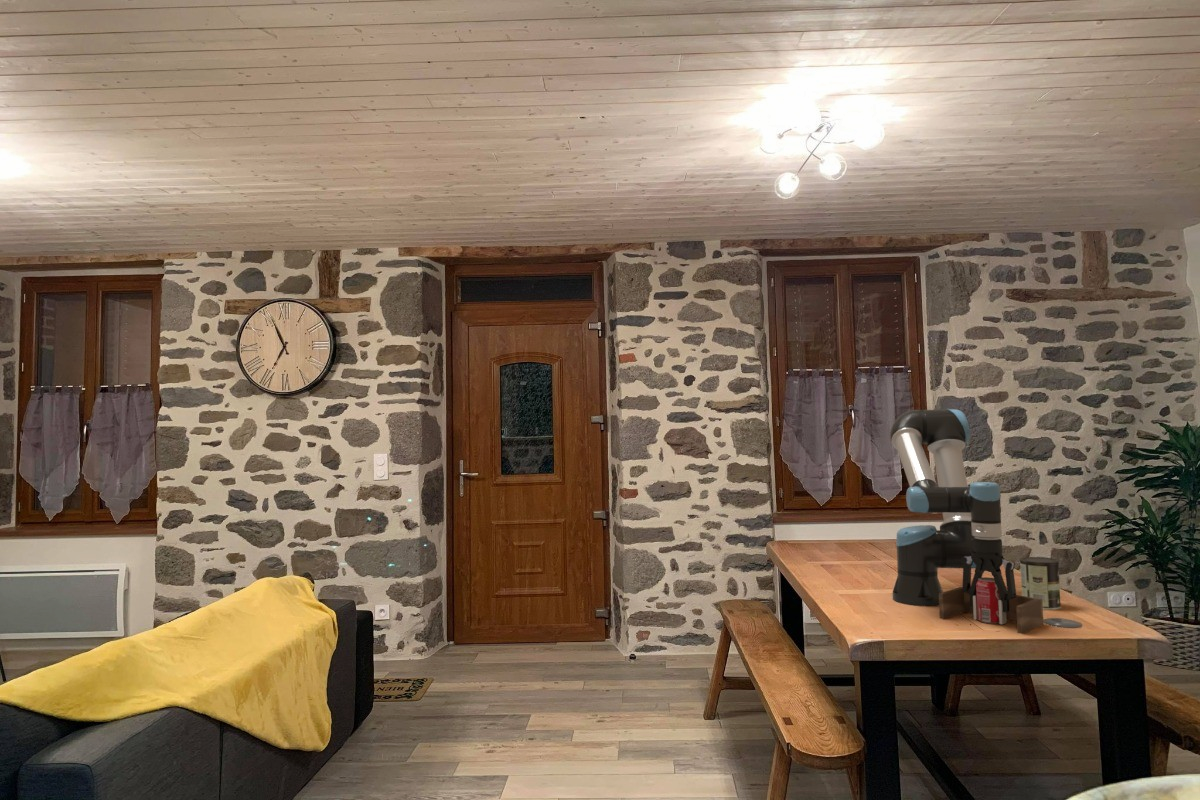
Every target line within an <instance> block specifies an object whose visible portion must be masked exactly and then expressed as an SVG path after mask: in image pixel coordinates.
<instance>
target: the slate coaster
mask: <svg viewBox="0 0 1200 800" xmlns="http://www.w3.org/2000/svg"><path fill="white" fill-rule="evenodd" d="M1045 623H1046V624H1045ZM1043 624H1045V625H1047V624H1049V625H1048V626H1051V625H1052V626H1051V627H1055V626H1057V627H1056V628H1062V627H1063V628H1065V629H1079V628H1082V627H1083V624H1082V622H1080V621H1077V620H1074V619H1073V620H1072V619H1069V618H1068V619H1067V618H1060V617H1050V618H1048V617H1047V618H1043ZM1081 626H1082V627H1081Z"/></svg>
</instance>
